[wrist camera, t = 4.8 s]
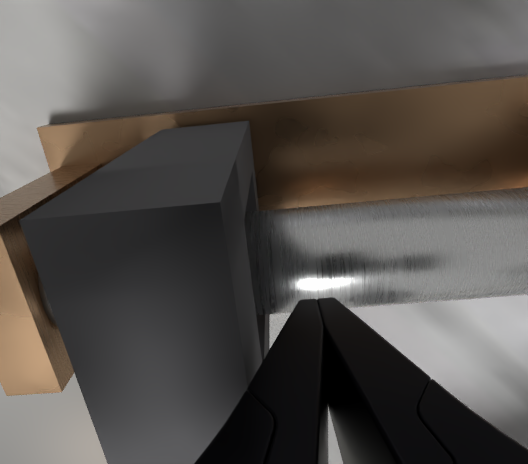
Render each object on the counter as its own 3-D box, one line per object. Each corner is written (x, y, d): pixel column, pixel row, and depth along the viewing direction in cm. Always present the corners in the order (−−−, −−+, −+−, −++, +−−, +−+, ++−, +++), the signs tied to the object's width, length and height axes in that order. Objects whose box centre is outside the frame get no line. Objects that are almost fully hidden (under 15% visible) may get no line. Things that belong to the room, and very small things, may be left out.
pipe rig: (656, 61, 14) (983, 62, 8) (604, 263, 17) (804, 386, 11) (47, 124, 15) (-116, 171, 9) (102, 303, 18) (11, 434, 12)
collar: (249, 120, 14) (220, 202, 6) (269, 302, 16) (268, 520, 9) (161, 129, 14) (19, 220, 6) (196, 307, 16) (131, 527, 9)
